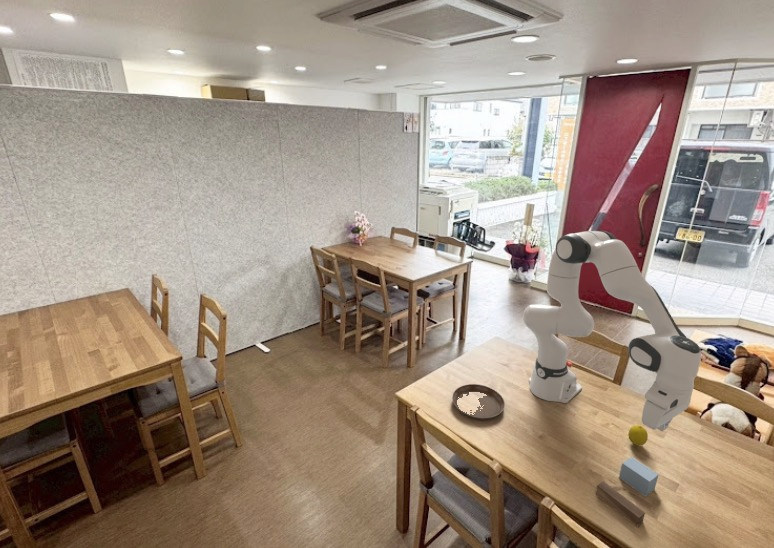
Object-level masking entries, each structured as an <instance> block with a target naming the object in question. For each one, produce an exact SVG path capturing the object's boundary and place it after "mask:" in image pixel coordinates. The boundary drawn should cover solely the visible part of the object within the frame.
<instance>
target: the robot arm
mask: <svg viewBox="0 0 774 548" xmlns="http://www.w3.org/2000/svg"><path fill="white" fill-rule="evenodd" d="M586 263H592V264H594V265H595V267H596V269H597V271H598V274H599V277H600V280H601V283H602V286H603V287H604V289H605V291H606V292H607V294H609V295H610V296H612V297H614V298H616V299H618V300H622V301H626V302H629V303H632V304H635V306H636V305H637V306H638V307H639V308H641V310H642V311H643V312H644V314H645V316H646V318H647V319H648V322H649V323H650V324H651V326H652V328H653V330H654V333H653V334H647V335H643V336H638V337H635V338H632V339H631V340H630V341H629V344H628V345H627V346H628V347H627V350H628V357H629V358H630V360H631V361H632V362H633V363H634V364H635V365H636V366H638V367H640V368H642V369H645V370H647V371H650V372H653V373H655V374H656V376H655V380H654V381H653V383H652V385H651V386H650V387H649V389H647V391H646V392H645V394H644V399H645V402H644V405H643V409H642V414H641V423H642V424H643V425H644V426H646V427H647V428H650V429H651V430H654V431H655V430H659V431H660V432H664V431H665V430H667V429H669V427H670V423H671V422H672V420H673V419H674V418H675V417H677V416H678V415H679V414H681V413H683V412H685V410H687V409H688V408H689V406H690V403H691V400H692V395H693V391H694V387H695V383H694V381H695V378H697V376H698V373H699V371H700V370H699V368H700V365H701V359H702V351H701V348H700V346H699V344H697V342H696V341H694V340H692V339H690V338H688V337H687V336H686V335H685V334H684V333H683V331H682V330H681V329H680V328H679V326H678V325H677V324H676V322H675V320H674V319H673V316H672V315H671V312H669V310H668V308H667V306H666V305H665V303H664V301H663V300H662V298H661V296H660V295H659V293H658V292H657V290H656V289H655V288H654V286H652V285H651V284H650V283H649V282H648V281H647V279H645V278H644V276H643V274H642V273H641V271H640V268H639V267H638V264H637V262H636V259H635V258H634V256H633V254H632V252H631V250H630V248H629V247H628V246H627V245H626V244H625V242H623V240H620V239H617V238H616V236H615V235H614V234H613V233H611V232H609V231H605V230H585V231H579V232H575V233H571V232H570V233H568V234H565V235H563V236H561V237H559V239H558V240H557V242H556V243H555V248H554V250H553V252H552V255H551V258H550V262H549V267H548V273H547V283H546V287H545V288H546V291H547V295H549V296H550V297H551V298H552V299H554V300H555V301H558V303H560V305H561V306H557V305H550V304H541V303H539V304H538V303H537V304H536V303H535V304H532V303H531V304H529V305H528V306H527V307H525V309H524V311H523V313H522V314H523V317H522V319H523V323H524V324H525V326H526V327H527V328H528V329H529V330H530V331H531V332H532V333H533V334H534V335H535V338H536V341H537V344H538V345H537V347H538V350H537V357H536V360H535V363H534V364H535V365H534V366H533V369H532V373H531V376H530V377H529V378H528V382H529V391H530V392H531V393H532V394H533V395H534V396H535V397H537V398H540V399H542V400H544V401H549V402H559V403H562V404H568V403H569V402H570V401H571V400H572V399H573V398H574V397H575V396H576V395H577V394H578V393H580V391H582V389H583V388H582V385H581V384H580V383H579V382H578V381H577V376H576V374H575V373H574V372H572V371H571V370H570V369H568V368H572V367H573V363H572V362H570V361H568V354H569V348H568V346H567V344H566V343H565V342H564V341H563V340H562V339H561V338H558V337H557V336H556V335H559V336H560V335H561V336H566V337H571V338H585V337H588V336H590V335H591V334H592V332H593V331H594V328H595V321H594V317H593V315H592V314H590V312H588V310H586V309H585V307H584V306H583V305H582V303H581V301H580V296H579V284H580V276H581V269H582V265H583V264H586Z"/></svg>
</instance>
